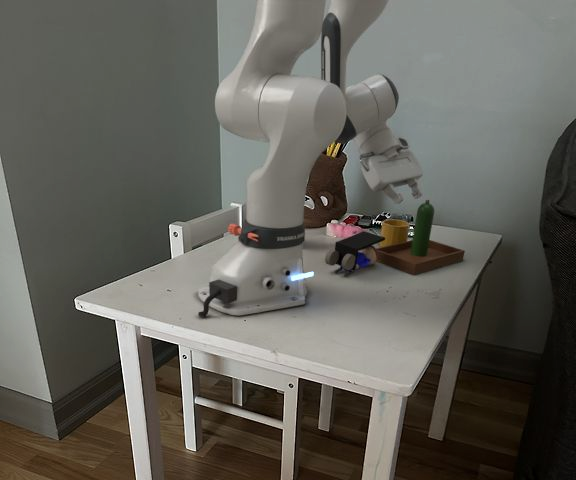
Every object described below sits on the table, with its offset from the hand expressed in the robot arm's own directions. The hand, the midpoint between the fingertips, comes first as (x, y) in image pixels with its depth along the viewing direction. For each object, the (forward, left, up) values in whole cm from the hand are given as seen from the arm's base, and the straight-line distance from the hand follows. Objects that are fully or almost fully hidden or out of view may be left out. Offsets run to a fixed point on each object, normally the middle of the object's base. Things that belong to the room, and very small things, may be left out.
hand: (409, 199), depth 133 cm
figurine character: (-20, -3, -13) cm, 24 cm away
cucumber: (+1, -5, -12) cm, 13 cm away
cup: (+3, +5, -13) cm, 15 cm away
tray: (-1, -6, -13) cm, 15 cm away
